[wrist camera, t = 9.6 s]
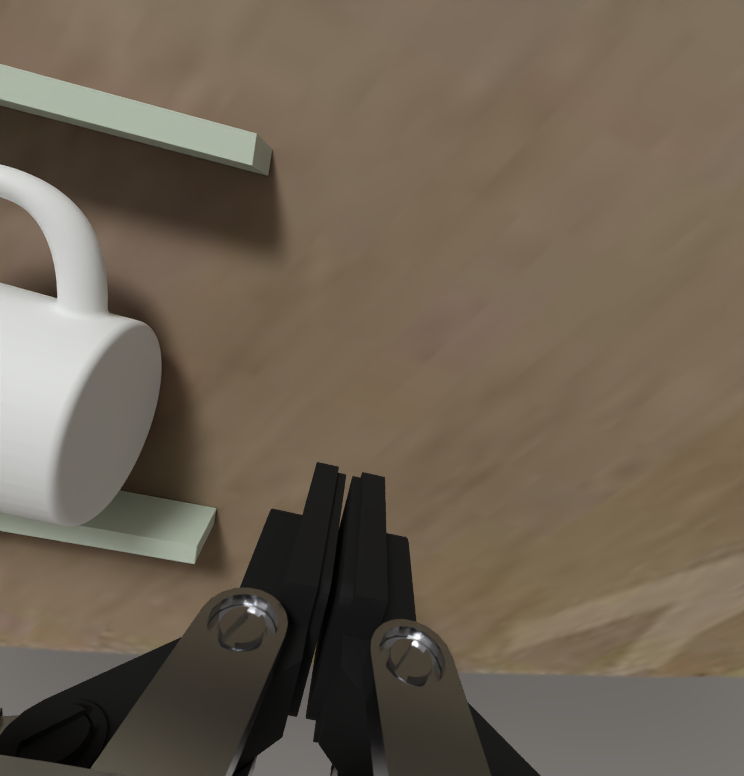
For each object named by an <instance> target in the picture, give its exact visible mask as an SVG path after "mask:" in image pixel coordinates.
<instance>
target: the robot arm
mask: <svg viewBox="0 0 744 776" xmlns="http://www.w3.org/2000/svg"><path fill="white" fill-rule="evenodd" d="M338 469H339V467H337V466H333V465H328V464H324V463H319V462H317V464H316V468H315V471H314V475H313V479H312V482H311V486H310V490H309V493H308V497H307V501H306V504H305V508H304V512H303V515H300V514H295V513H290V512H286V511H281V510H276V509H271V510H270V513H269V515H268V518H267V520H266V523H265V525H264V528H263V530H262V533H261V535H260V538H259V540H258V543H257V546H256V548H255V551H254V553H253V556H252V558H251V561H250V563H249V566H248V568H247V571H246V573H245V576H244V578H243V581H242V584H241V586H240V588H234V589H230V590H226V591H223V592H221V593H219V594H217V595H216V596H214V597H212V598H211V599H210V600H209V601H208V602H207V603H206V604H205V605H204V606H203V607H202V609H201V610H200V612H199V613H198V614H197V616H196V617H195V619H194V620H193V622H192V623H191V625H190V626H189V627H188V629H187V630H186V632H185V633H184V635H183V636H182V637H181V638H179V639H176V640H174V641H172V642H170V643H168V644H165V645H163V646H161V647H159V648H157V649H154V650H152V651H150V652H148V653H146V654H143V655H141V656H139V657H137V658H135V659H133V660H130V661H128V662H126V663H124V664H122V665H119V666H117V667H115V668H113V669H111V670H109V671H107V672H104V673H102V674H100V675H98V676H95V677H93V678H91V679H89V680H86V681H84V682H82V683H80V684H78V685H76V686H73V687H71V688H69V689H67V690H64V691H62V692H60V693H58V694H56V695H53V696H52V697H49V698H47V699H45V700H43V701H41V702H39V703H38V704H36V705H34V706H32V707H31V708H29V709H27V710H26V711H24V712H23V713H22V714H21V715H15V716H3V715H2V714H3V713H2V708H0V776H251V775H252V773H253V770H254V767H255V763H256V759H257V755H258V754H260V753H261V752H262V751H264V750H265V749H267V748H268V747H269V746H271V745H272V744H274V743H275V742H276V741H278V740H279V739H280V738H282V736H283V732H284V728H285V725H286V720H287V717H288V715H290V716H295V717H296V716H297V715H298V711H299V707H300V703H301V700H302V696H303V692H304V688H305V685H306V681H307V677H308V673H309V670H310V666H311V662H312V658H313V654H314V651H315V647H316V652H315V659H314V666H313V672H312V679H311V685H310V693H309V699H308V705H307V712H306V719H311V720H316V724H315V732H314V740H313V742H318V743H319V745H320V747H321V748H322V750H323V751H324V753H325V754H326V755H327V757H328V758H329V759H330V761H331V763H332V766H331V773H330V776H540V775H539V774H538V773H537V772H536V771H535V770H534V769H533V768H532V767H531V766H530V765H529V764H528V763H527V762H526V761H525V760H524V759H523V758H522V757H521V756H520V755H519V754H518V753H517V752H516V751H515V750H514V749H513V748H512V747H511V746H510V745H509V744H508V743H507V742H506V741H505V739H504V738H503V737H502V736H501V735H499V734H498V733H497V732H496V730H495V729H494V728H493V727H492V726H491V725H490V724H489V723H487V721H486V720H485V719H484V718H483V717H482V716H481V715H480V714H479V713H478V712H477V711H476V710H475V709H474V708H473V707H472V706H471V705H470V704H469V703H468V702H467V699H466V697H465V693H464V690H463V688H462V684H461V681H460V678H459V675H458V672H457V669H456V666H455V663H454V660H453V657H452V655H451V653H450V651H449V649H448V647H447V645H446V644H445V643H444V641H443V640H442V639H441V638H440V637H439V635H438V634H436V633H435V632H434V631H432V630H431V629H430V628H428V627H427V626H425V625H422V624H420V623H418V622H416V614H415V604H414V594H413V583H412V573H411V563H410V552H409V543H408V539H407V538H406V537H402V536H398V535H393V534H388V533H386V502H385V477H382V476H378V475H373V474H369V473H364V472H363V473H362V475H361V478H359V477H355V476H353V477H352V480H351V484H350V488H349V492H348V496H347V500H346V504H345V507H344V511H343V515H342V519H341V523H340V516H341V509H342V502H343V494H344V487H345V480H346V474H341V473H338ZM339 524H340V527H339ZM316 643H317V646H316Z"/></svg>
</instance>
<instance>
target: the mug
mask: <svg viewBox="0 0 744 776" xmlns="http://www.w3.org/2000/svg"><path fill="white" fill-rule="evenodd" d="M0 197H1V198H4V199H7V200H10V201H12V202H14V203H16V204H18V205H19V206H21V207H22V208H24V209H25V210H26V211H27V212H28V213H29V214H30V215H31V216H32V217H33V218H34V219H35V220H36V222H37V223H38V225H39V226H40V228H41V229H42V231H43V233H44V235H45V237H46V239H47V242H48V244H49V247H50V250H51V253H52V257H53V261H54V266H55V273H56V281H57V298H54V297H51V296H47V295H43V294H40V293H36V292H33V291H29V290H25V289H22V288H18V287H14V286H11V285H7V284H3V283H0V512H2V513H6V514H11V515H15V516H20V517H25V518H29V519H34V520H38V521H43V522H48V523H52V524H57V525H61V526H67V527H69V526H77V525H81V524H83V523H86V522H88V521H89V520H91V519H93V518H94V517H95V516H97V515H98V514H99V513H100V512H101V511H102V510H103V509H104V508H105V507H106V506H107V505H108V504H109V503H110V502H111V501H112V499H113V498H114V497H115V496H116V494H117V493H118V492H119V490H120V489H121V487H122V486H123V484H124V483H125V481H126V480H127V478H128V476H129V474H130V473H131V471H132V469H133V467H134V465H135V463H136V461H137V459H138V457H139V455H140V453H141V450H142V448H143V446H144V443H145V441H146V438H147V436H148V433H149V430H150V427H151V424H152V421H153V417H154V414H155V410H156V406H157V401H158V396H159V391H160V384H161V373H162V360H161V350H160V345H159V342H158V339H157V337H156V335H155V333H154V331H153V330H152V329H151V328H150V327H149V326H148V325H147V324H145V323H143V322H141V321H138V320H135V319H131V318H127V317H124V316H120V315H116V314H113V313H110V312H109V311H108V289H107V274H106V267H105V261H104V257H103V253H102V250H101V246H100V243H99V241H98V238H97V236H96V234H95V232H94V230H93V228H92V226H91V224H90V223H89V221H88V219H87V218H86V217H85V215H84V214H83V213H82V211H81V210H80V209H79V208H78V207H77V206H76V205H75V204H74V203H73V202H72V201H71V200H70V199H69V198H68V197H67V196H66V195H64V194H63V193H62V192H61V191H59V190H58V189H56V188H55V187H53V186H52V185H50V184H48V183H47V182H45V181H43V180H41V179H39V178H37V177H35V176H33V175H31V174H28V173H26V172H23V171H20V170H18V169H15V168H11V167H8V166H4V165H0Z"/></svg>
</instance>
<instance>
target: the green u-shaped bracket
mask: <svg viewBox="0 0 744 776" xmlns="http://www.w3.org/2000/svg"><path fill="white" fill-rule="evenodd" d="M0 106H4V107H8V108H11V109H15V110H19V111H23V112H27V113H30V114H34V115H38V116H42V117H46V118H50V119H53V120H57V121H61V122H65V123H69V124H72V125H76V126H80V127H84V128H88V129H91V130H95V131H99V132H103V133H107V134H110V135H114V136H118V137H122V138H126V139H129V140H133V141H137V142H141V143H145V144H149V145H152V146H156V147H160V148H164V149H168V150H171V151H175V152H179V153H183V154H187V155H190V156H194V157H198V158H202V159H206V160H209V161H213V162H217V163H221V164H225V165H228V166H232V167H236V168H240V169H244V170H248V171H251V172H255V173H259V174H263V175H267V176H268V174H269V168H270V161H271V155H272V148H271V147H270V146H269V145H268V144H267V143H266V142H265V141H264V140H263V139H262V138H261V137H260V136H259V135H258V134H256V133H252V132H249V131H245V130H241V129H238V128H234V127H230V126H227V125H223V124H219V123H216V122H212V121H208V120H205V119H201V118H197V117H193V116H190V115H186V114H182V113H179V112H175V111H171V110H168V109H164V108H160V107H157V106H153V105H149V104H146V103H142V102H138V101H135V100H131V99H127V98H123V97H120V96H116V95H112V94H109V93H105V92H101V91H98V90H94V89H90V88H87V87H83V86H79V85H76V84H72V83H68V82H65V81H61V80H57V79H54V78H50V77H46V76H42V75H39V74H35V73H31V72H28V71H24V70H20V69H17V68H13V67H9V66H6V65H2V64H0ZM215 515H216V508H213V507H207V506H202V505H196V504H191V503H186V502H180V501H175V500H169V499H164V498H158V497H153V496H148V495H142V494H137V493H131V492H126V491H121V490H119V492H118V493H117V494H116V496H115V497H114V498H113V499H112V501H111V502H110V503H109V504H108V505H107V506H106V507H105V508H104V509H103V510H102V511H101V512H100V513H99V514H98V515H97V516H95V517H94V518H93V519H91V520H89V521H88V522H86V523H83V524H81V525H77V526H69V527H67V526H61V525H57V524H52V523H48V522H43V521H38V520H34V519H29V518H25V517H20V516H15V515H11V514H6V513H2V512H0V531H4V532H10V533H16V534H22V535H28V536H34V537H39V538H45V539H51V540H57V541H63V542H69V543H74V544H80V545H86V546H92V547H98V548H104V549H110V550H115V551H121V552H127V553H133V554H139V555H145V556H150V557H156V558H162V559H168V560H174V561H180V562H185V563H191V564H195V562H196V560H197V558H198V556H199V554H200V552H201V550H202V548H203V546H204V544H205V542H206V540H207V538H208V536H209V534H210V531H211V529H212V527H213V525H214V521H215Z"/></svg>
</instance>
